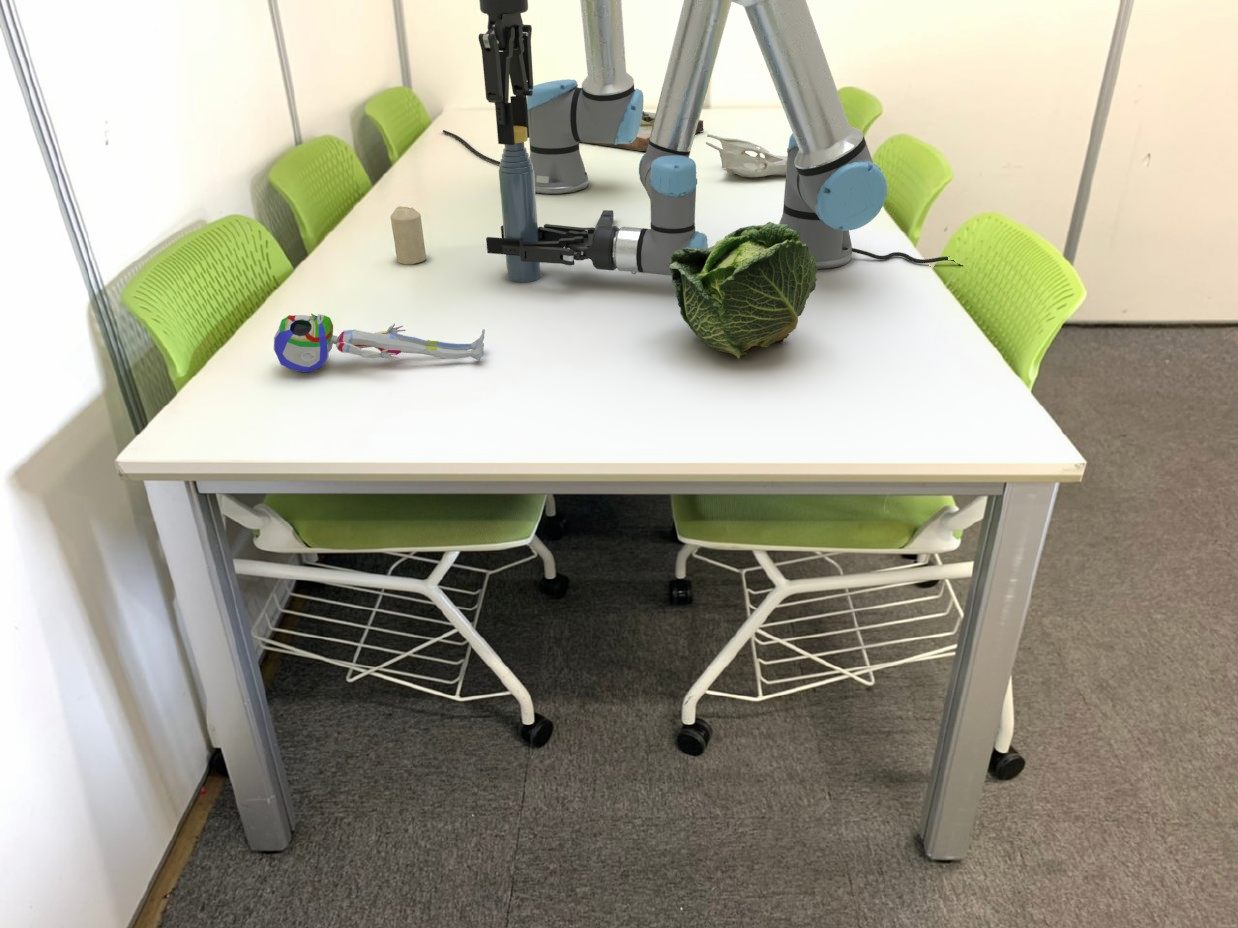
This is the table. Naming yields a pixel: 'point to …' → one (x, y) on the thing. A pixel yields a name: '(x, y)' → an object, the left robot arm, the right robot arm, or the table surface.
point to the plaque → (645, 133)
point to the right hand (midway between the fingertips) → (495, 239)
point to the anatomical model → (748, 158)
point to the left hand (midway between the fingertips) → (514, 140)
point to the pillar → (606, 218)
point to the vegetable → (744, 287)
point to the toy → (354, 343)
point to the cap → (520, 134)
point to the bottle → (519, 208)
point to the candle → (408, 235)
